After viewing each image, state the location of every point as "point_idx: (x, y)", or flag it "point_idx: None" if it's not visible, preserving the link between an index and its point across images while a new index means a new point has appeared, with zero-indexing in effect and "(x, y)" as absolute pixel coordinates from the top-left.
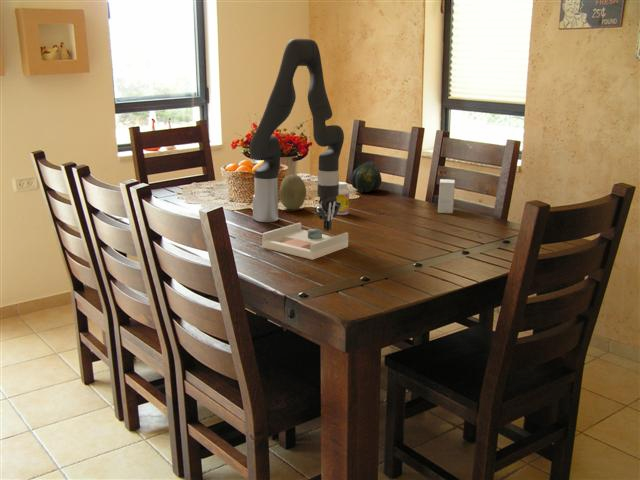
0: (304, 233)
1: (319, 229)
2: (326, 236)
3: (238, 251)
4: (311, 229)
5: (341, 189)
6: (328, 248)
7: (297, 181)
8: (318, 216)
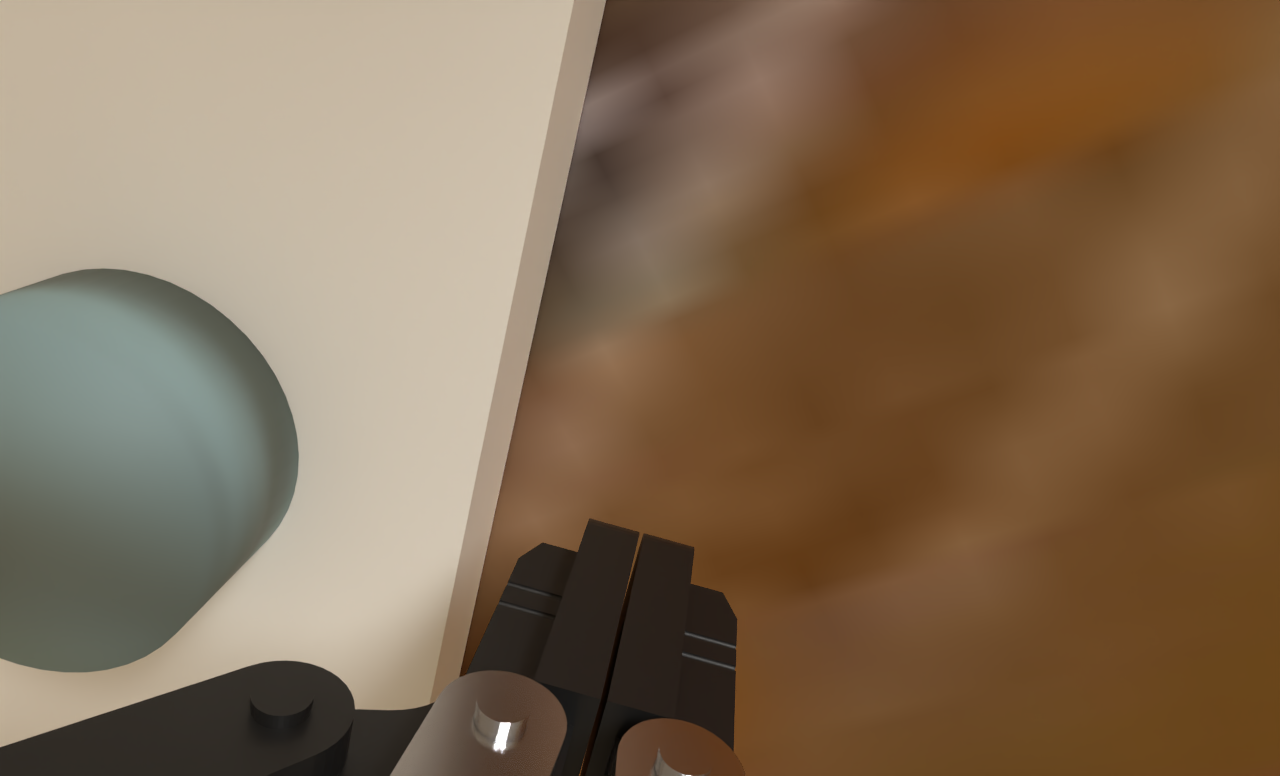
0: (288, 47)
1: (183, 573)
2: (345, 624)
3: None
4: (44, 385)
5: None
6: None
7: None
8: (101, 716)
